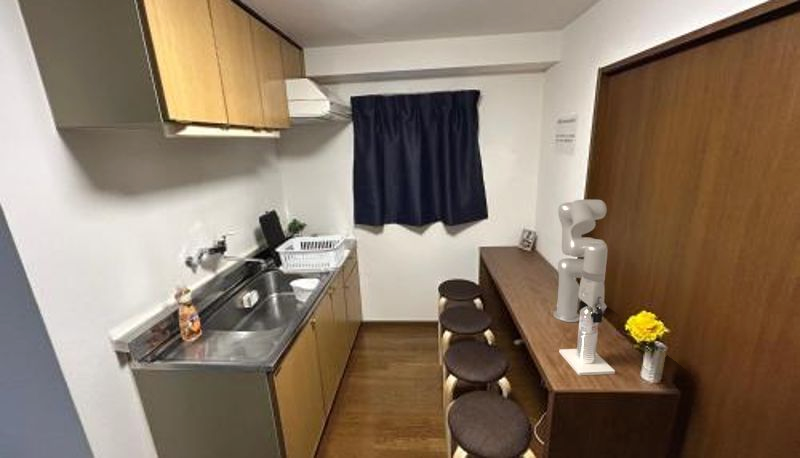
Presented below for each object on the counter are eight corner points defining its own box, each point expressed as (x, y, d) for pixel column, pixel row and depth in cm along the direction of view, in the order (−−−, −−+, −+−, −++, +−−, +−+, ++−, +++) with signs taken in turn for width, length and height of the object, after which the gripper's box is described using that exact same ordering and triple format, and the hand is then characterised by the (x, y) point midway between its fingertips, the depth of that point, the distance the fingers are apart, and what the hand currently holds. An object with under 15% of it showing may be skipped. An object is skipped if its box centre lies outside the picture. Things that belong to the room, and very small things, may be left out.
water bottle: (588, 354, 143) (593, 298, 138) (598, 363, 136) (604, 305, 131) (572, 354, 143) (577, 299, 137) (581, 364, 136) (587, 306, 131)
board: (559, 352, 147) (559, 349, 147) (591, 350, 147) (591, 348, 147) (579, 375, 132) (579, 372, 131) (614, 373, 132) (615, 371, 132)
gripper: (572, 268, 140) (569, 307, 144) (597, 284, 123) (593, 327, 127) (590, 267, 140) (586, 306, 144) (617, 283, 123) (612, 326, 127)
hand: (589, 316), depth 135 cm, fingers open, 9 cm apart
